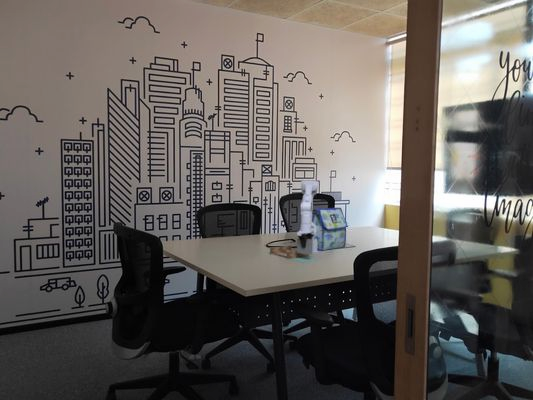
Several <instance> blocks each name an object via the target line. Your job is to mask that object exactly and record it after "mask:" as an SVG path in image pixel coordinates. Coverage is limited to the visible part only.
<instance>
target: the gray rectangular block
mask: <svg viewBox="0 0 533 400" xmlns="http://www.w3.org/2000/svg"><path fill="white" fill-rule="evenodd" d="M312 248H313V240H312V239H307V241H306V247H305V248H302V247H301V242H300V239H299V237H298V238H297V241H296V251H297V253H302V254H308V256H309V255H313V253H312Z"/></svg>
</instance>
